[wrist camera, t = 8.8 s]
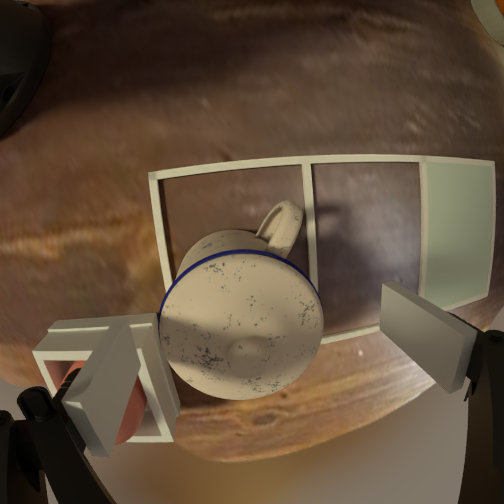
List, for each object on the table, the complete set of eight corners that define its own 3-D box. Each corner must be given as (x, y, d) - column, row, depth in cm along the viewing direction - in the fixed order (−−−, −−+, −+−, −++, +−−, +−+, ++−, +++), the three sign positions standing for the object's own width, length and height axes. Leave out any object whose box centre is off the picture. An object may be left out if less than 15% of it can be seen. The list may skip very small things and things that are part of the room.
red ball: (91, 407, 23) (70, 458, 16) (65, 345, 21) (30, 392, 14) (159, 407, 24) (149, 465, 17) (137, 342, 22) (115, 397, 15)
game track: (182, 362, 25) (182, 364, 25) (149, 173, 21) (148, 172, 21) (485, 295, 29) (487, 296, 28) (492, 161, 25) (494, 161, 24)
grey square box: (90, 404, 25) (75, 439, 20) (56, 320, 23) (29, 348, 18) (180, 403, 26) (176, 443, 21) (155, 312, 24) (142, 345, 19)
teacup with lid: (256, 347, 26) (284, 445, 14) (158, 306, 24) (124, 397, 13) (324, 224, 24) (409, 260, 13) (222, 170, 22) (232, 158, 11)
